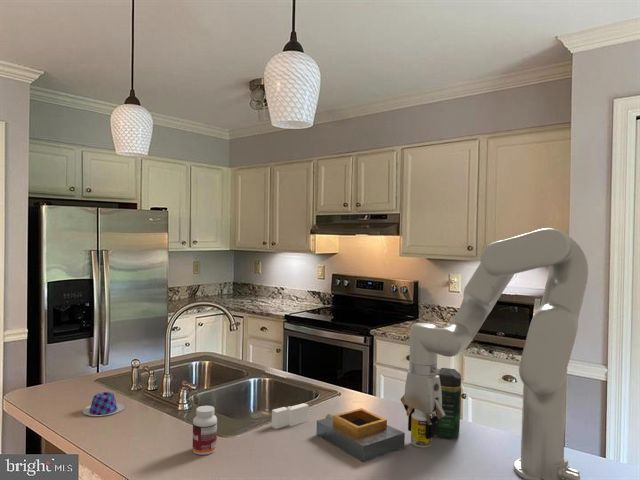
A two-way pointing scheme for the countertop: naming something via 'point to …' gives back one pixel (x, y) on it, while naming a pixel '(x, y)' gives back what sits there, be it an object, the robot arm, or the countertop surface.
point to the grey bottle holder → (360, 434)
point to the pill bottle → (204, 431)
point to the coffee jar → (449, 404)
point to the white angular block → (290, 415)
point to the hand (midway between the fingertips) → (421, 433)
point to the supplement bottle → (419, 429)
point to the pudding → (103, 405)
